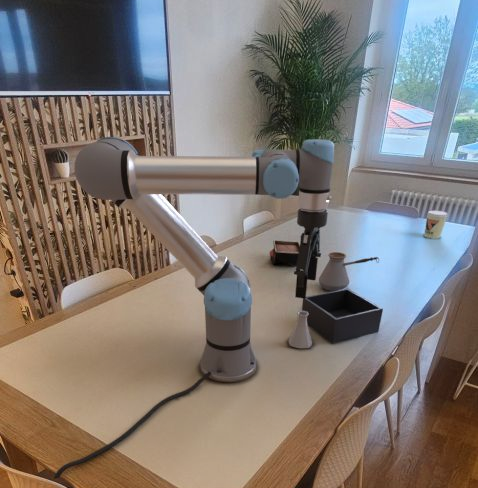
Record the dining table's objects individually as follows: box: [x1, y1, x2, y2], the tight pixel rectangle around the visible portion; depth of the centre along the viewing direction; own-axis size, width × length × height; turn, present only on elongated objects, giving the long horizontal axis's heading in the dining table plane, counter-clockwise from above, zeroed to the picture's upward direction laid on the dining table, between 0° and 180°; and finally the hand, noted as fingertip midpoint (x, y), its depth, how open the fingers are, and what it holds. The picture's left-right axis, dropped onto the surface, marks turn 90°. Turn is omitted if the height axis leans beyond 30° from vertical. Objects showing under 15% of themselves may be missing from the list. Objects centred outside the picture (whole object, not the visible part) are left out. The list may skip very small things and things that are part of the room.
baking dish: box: [269, 239, 300, 266], centre depth 188 cm, size 14×18×10 cm
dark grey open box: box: [301, 287, 384, 344], centre depth 138 cm, size 18×18×8 cm
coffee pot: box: [318, 251, 380, 292], centre depth 160 cm, size 21×12×15 cm, turn 54°
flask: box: [288, 310, 313, 349], centre depth 128 cm, size 7×7×10 cm
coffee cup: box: [423, 210, 448, 240], centre depth 222 cm, size 9×9×12 cm
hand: (305, 288), depth 121 cm, fingers open, 13 cm apart
